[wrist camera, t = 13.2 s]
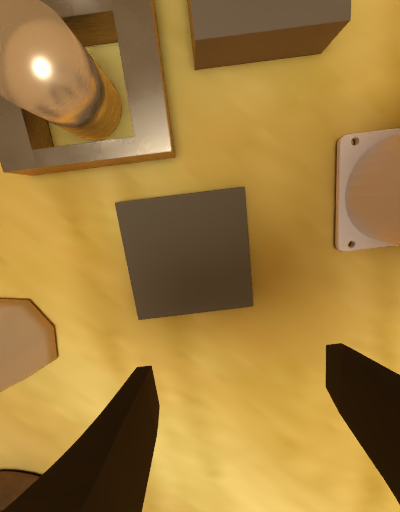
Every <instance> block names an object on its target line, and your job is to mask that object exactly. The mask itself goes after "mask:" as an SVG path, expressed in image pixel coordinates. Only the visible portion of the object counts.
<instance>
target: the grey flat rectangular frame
mask: <svg viewBox="0 0 400 512" xmlns="http://www.w3.org/2000/svg"><path fill="white" fill-rule="evenodd" d="M40 1H42V2H43V3H45V4H46V5H48V6H49V7H51V8H52V9H53V10H54V11H55V12H56V13H57V14H58V15H59V16H60V17H61V19H62V20H63V21H64V23H65V24H66V25H67V26H68V28H69V29H70V30H71V32H72V33H73V34H74V35H75V37H76V38H77V39H78V41H79V42H80V43H81V44H82V46H89V45H97V44H104V43H112V42H118V43H119V49H120V55H121V60H122V66H123V72H124V78H125V84H126V89H127V95H128V101H129V107H130V113H131V119H132V124H133V130H134V136H135V137H129V138H121V139H113V140H105V141H98V142H90V143H82V144H74V145H66V146H58V147H54V146H53V142H52V138H51V134H50V130H49V126H48V122H47V120H45V119H43V118H41V117H39V116H37V115H35V114H33V113H31V112H29V111H27V110H25V109H23V108H21V107H19V106H16V105H14V104H12V103H11V102H9V101H8V100H6V99H5V98H4V97H2V96H1V95H0V163H1V166H2V169H3V172H6V173H14V174H23V175H39V174H47V173H55V172H63V171H71V170H79V169H87V168H95V167H103V166H111V165H119V164H127V163H135V162H143V161H150V160H158V159H166V158H174V157H175V153H174V146H173V139H172V131H171V124H170V117H169V109H168V102H167V95H166V87H165V80H164V73H163V66H162V58H161V51H160V44H159V36H158V29H157V22H156V14H155V7H154V0H40Z"/></svg>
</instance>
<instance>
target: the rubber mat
mask: <svg viewBox="0 0 400 512" xmlns="http://www.w3.org/2000/svg"><path fill="white" fill-rule="evenodd" d="M115 206H116V211H117V216H118V221H119V226H120V231H121V236H122V241H123V245H124V250H125V255H126V260H127V265H128V270H129V275H130V280H131V285H132V290H133V295H134V300H135V305H136V309H137V314H138V319H139V320H142V319H151V318H159V317H168V316H176V315H184V314H193V313H201V312H209V311H218V310H226V309H235V308H243V307H251V306H253V295H252V281H251V267H250V253H249V239H248V225H247V211H246V197H245V187H238V188H230V189H222V190H214V191H206V192H198V193H190V194H182V195H174V196H165V197H157V198H149V199H141V200H133V201H125V202H117V203H115Z"/></svg>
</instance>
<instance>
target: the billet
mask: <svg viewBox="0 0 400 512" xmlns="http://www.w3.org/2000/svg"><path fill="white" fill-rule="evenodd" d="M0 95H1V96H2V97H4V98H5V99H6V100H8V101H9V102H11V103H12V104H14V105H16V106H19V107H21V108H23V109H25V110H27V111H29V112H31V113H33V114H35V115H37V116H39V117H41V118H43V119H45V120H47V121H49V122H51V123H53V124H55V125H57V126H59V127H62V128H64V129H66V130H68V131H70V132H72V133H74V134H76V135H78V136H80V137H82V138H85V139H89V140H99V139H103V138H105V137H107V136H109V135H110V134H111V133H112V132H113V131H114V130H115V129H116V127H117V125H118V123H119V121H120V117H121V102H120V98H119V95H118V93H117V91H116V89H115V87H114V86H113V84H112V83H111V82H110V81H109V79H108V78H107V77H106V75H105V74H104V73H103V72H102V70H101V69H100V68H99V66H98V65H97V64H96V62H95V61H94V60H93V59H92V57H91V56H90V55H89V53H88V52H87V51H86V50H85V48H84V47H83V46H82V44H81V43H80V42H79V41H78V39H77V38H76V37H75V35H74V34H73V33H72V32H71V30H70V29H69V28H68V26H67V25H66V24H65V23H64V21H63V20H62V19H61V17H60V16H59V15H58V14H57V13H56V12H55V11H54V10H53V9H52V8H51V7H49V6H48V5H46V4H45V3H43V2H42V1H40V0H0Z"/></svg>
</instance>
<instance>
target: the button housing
mask: <svg viewBox="0 0 400 512" xmlns="http://www.w3.org/2000/svg"><path fill="white" fill-rule="evenodd" d="M187 2H188V11H189V20H190V29H191V38H192V48H193V57H194V66H195V70H196V69H204V68H212V67H220V66H227V65H235V64H243V63H250V62H258V61H266V60H274V59H281V58H289V57H297V56H304V55H312V54H320V53H322V51H323V50H324V49H325V48H326V47H327V46H328V45H329V44H330V42H331V41H332V40H333V39H334V38H335V37H336V36H337V35H338V33H339V32H340V31H341V30H342V29H343V28H344V27H345V26H346V24H347V23H348V22H349V21H350V18H351V0H187Z"/></svg>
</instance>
